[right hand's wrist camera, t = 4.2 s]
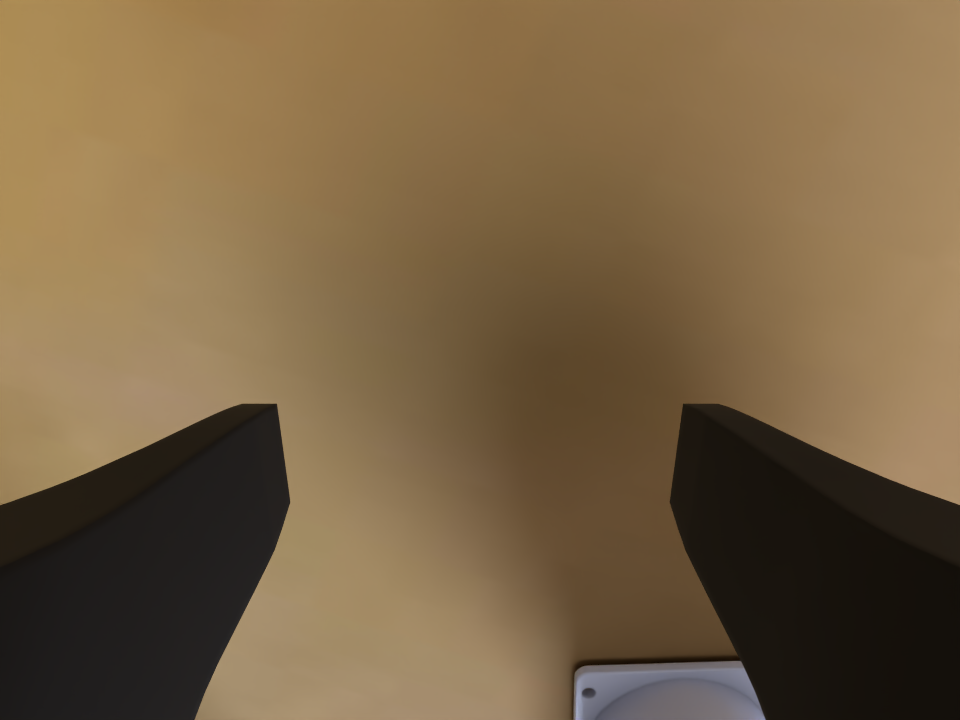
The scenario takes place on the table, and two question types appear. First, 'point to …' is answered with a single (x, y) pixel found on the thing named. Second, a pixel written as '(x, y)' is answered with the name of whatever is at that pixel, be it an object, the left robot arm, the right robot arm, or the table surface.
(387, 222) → the table surface
